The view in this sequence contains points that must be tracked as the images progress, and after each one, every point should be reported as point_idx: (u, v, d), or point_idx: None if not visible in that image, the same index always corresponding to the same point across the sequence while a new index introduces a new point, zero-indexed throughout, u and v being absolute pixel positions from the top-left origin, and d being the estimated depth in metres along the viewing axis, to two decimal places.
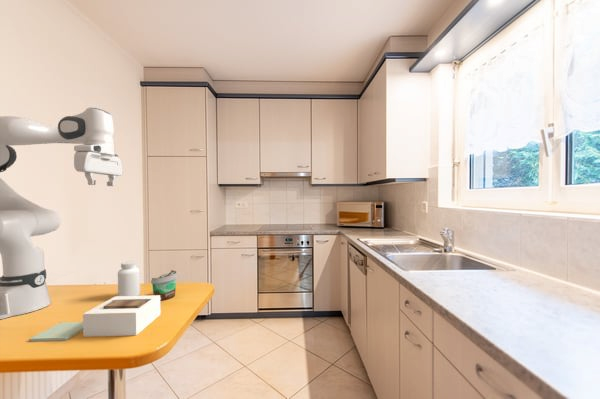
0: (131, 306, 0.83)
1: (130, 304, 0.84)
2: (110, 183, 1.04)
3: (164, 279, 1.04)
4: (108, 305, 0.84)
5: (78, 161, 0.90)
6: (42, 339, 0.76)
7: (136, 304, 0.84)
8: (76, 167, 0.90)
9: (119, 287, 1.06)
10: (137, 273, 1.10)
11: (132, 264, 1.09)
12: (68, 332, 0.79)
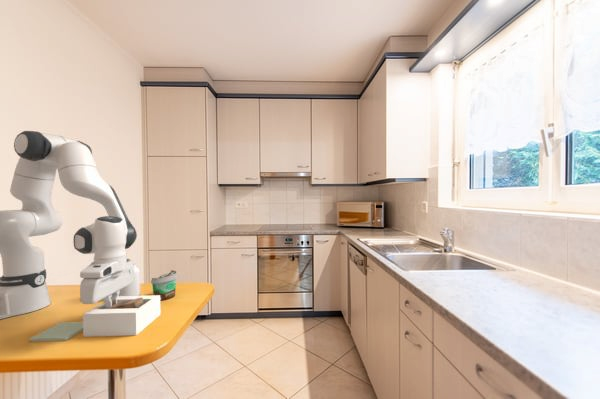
0: (129, 304, 0.83)
1: (127, 303, 0.84)
2: (113, 302, 0.85)
3: (164, 279, 1.04)
4: (106, 308, 0.84)
5: (85, 293, 0.75)
6: (42, 339, 0.76)
7: (133, 301, 0.84)
8: (82, 300, 0.75)
9: None
10: (137, 273, 1.10)
11: (132, 264, 1.09)
12: (68, 332, 0.79)
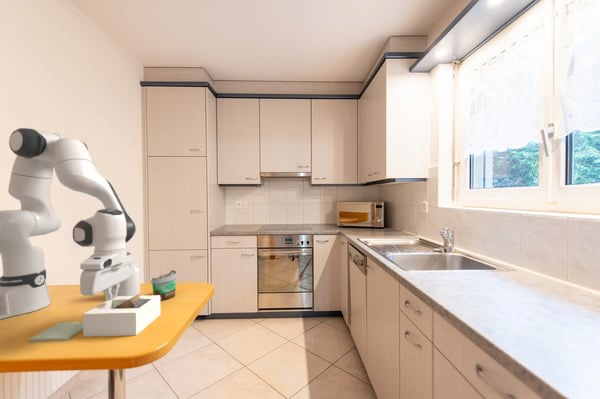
0: (125, 302, 0.83)
1: (124, 302, 0.84)
2: (113, 295, 0.85)
3: (164, 279, 1.04)
4: None
5: (85, 284, 0.75)
6: (42, 339, 0.76)
7: (129, 299, 0.84)
8: (83, 292, 0.75)
9: (119, 287, 1.06)
10: (137, 273, 1.10)
11: None
12: (68, 332, 0.79)
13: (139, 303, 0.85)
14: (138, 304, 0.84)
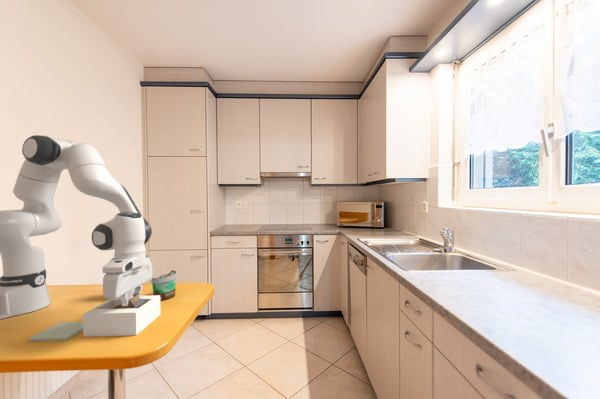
0: None
1: None
2: None
3: (164, 279, 1.04)
4: None
5: (107, 288, 0.75)
6: (42, 339, 0.76)
7: None
8: (105, 295, 0.75)
9: None
10: None
11: None
12: (68, 332, 0.79)
13: (139, 303, 0.85)
14: (138, 304, 0.84)
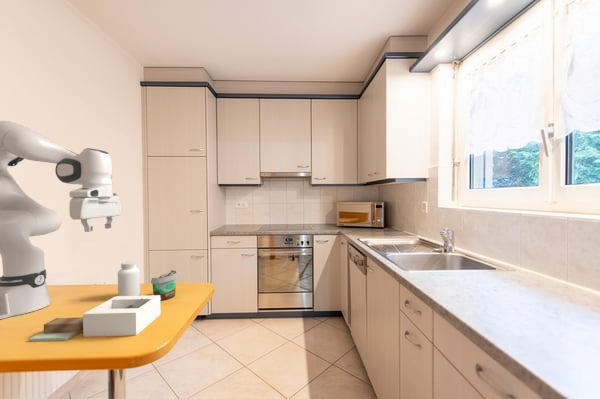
0: (74, 324, 0.79)
1: (73, 322, 0.80)
2: (108, 225, 0.98)
3: (164, 279, 1.04)
4: (49, 323, 0.79)
5: (73, 209, 0.84)
6: (42, 339, 0.76)
7: (79, 322, 0.80)
8: (72, 215, 0.84)
9: (119, 287, 1.06)
10: (137, 273, 1.10)
11: (132, 264, 1.09)
12: None
13: (139, 303, 0.85)
14: (138, 304, 0.84)
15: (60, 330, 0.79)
